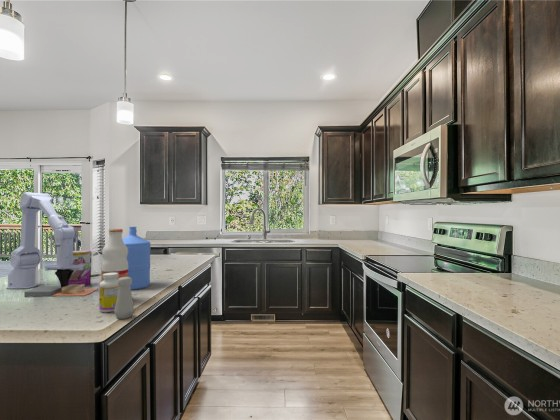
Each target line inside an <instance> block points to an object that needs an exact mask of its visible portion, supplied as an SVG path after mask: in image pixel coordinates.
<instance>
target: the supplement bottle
mask: <svg viewBox="0 0 560 420" xmlns="http://www.w3.org/2000/svg"><path fill="white" fill-rule="evenodd" d="M117 278H118V273H105V274H103V279H104V281H102V282H101V281H100V283H99V296H98V297H99V302H98V303H99V304H98V305H99V306H98V310H99V312H101V313H113V312H114V310H115V306H116V301H117V297H118V292H119V287H120V286H119V285H118V280H117ZM114 313H115V312H114Z"/></svg>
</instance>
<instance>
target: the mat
mask: <svg viewBox="0 0 560 420" xmlns="http://www.w3.org/2000/svg"><path fill="white" fill-rule="evenodd" d="M98 290H99V288H85V290H84V291H82V292H79V293H77V294H62V291H61V292H59V293H56V294H54V295H52V296H51V297H86V296H87V295H90V294H92V293H94V292H96V291H98Z"/></svg>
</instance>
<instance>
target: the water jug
mask: <svg viewBox="0 0 560 420" xmlns="http://www.w3.org/2000/svg"><path fill="white" fill-rule="evenodd" d="M122 240H123V242H124V244H125V245H126V246H127V248H128V255H127V261H128V277H131V278H132V284H130V288H131V291H134V290H136V291H137V290H141V289H145V288H148V287H149V286H150V285H151V279H150V277H151V241H150V240H147V239H145V238H143V237H140V236H138V235H137V226H129V229H128V235H127V236H126V237H122Z"/></svg>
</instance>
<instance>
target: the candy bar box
mask: <svg viewBox="0 0 560 420" xmlns="http://www.w3.org/2000/svg"><path fill="white" fill-rule="evenodd" d="M92 254H93V253H92V251H91V250H73V265H84V269H83V270H74V272H73V273H72V275H71V277H70V279H69V282H68V285H82V284H85V287H89V286H91V282H92V281H91V280H92V279H91V278H92ZM64 269H68V268H64ZM68 285H67V286H68Z"/></svg>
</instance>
